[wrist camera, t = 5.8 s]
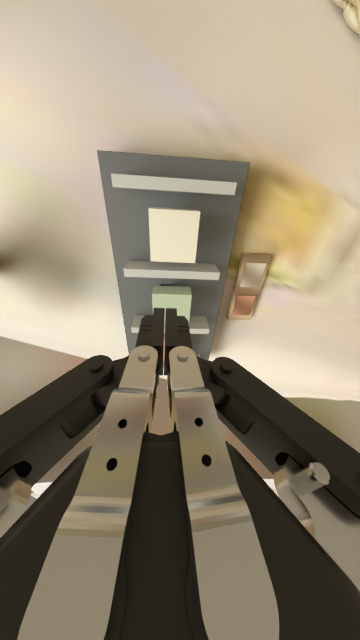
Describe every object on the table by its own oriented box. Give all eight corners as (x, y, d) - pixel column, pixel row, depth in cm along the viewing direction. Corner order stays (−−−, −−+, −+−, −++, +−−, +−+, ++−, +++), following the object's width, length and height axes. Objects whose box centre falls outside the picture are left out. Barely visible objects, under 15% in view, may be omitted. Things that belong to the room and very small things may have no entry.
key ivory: (152, 206, 21) (148, 208, 17) (195, 208, 21) (200, 211, 17) (154, 250, 24) (150, 261, 20) (191, 252, 24) (195, 263, 20)
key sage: (154, 279, 26) (151, 293, 22) (188, 280, 26) (191, 295, 22) (155, 308, 29) (153, 325, 25) (186, 309, 29) (188, 326, 25)
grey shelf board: (105, 155, 20) (83, 141, 15) (240, 166, 22) (263, 156, 16) (133, 352, 39) (126, 377, 33) (205, 353, 40) (210, 377, 34)
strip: (242, 252, 27) (244, 254, 26) (269, 253, 28) (273, 255, 27) (226, 317, 34) (228, 320, 33) (248, 317, 34) (250, 320, 34)
